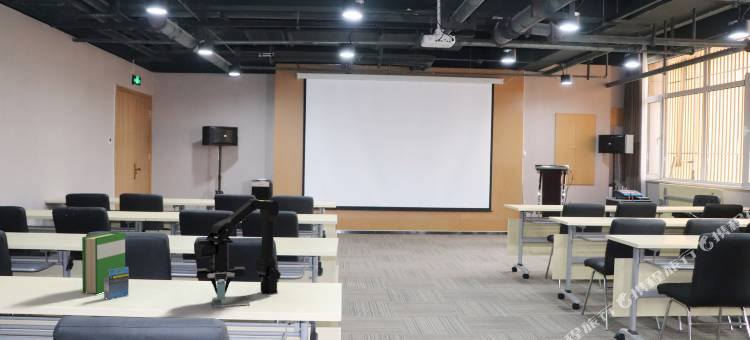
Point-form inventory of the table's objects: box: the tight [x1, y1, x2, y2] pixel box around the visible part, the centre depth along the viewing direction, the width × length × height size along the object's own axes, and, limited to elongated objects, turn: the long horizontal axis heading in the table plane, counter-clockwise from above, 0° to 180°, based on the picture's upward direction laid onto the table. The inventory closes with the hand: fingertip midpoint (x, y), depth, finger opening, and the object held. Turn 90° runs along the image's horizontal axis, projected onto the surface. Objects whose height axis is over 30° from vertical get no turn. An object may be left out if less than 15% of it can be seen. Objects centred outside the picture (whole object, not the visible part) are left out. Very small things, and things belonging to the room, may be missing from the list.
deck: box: [216, 278, 226, 300], centre depth 238 cm, size 3×9×6 cm, turn 15°
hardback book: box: [81, 231, 126, 295], centre depth 257 cm, size 18×7×24 cm, turn 165°
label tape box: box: [103, 266, 130, 300], centre depth 245 cm, size 9×4×12 cm, turn 145°
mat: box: [212, 294, 251, 308], centre depth 239 cm, size 14×15×1 cm
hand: (220, 293), depth 238 cm, fingers closed on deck, 3 cm apart
